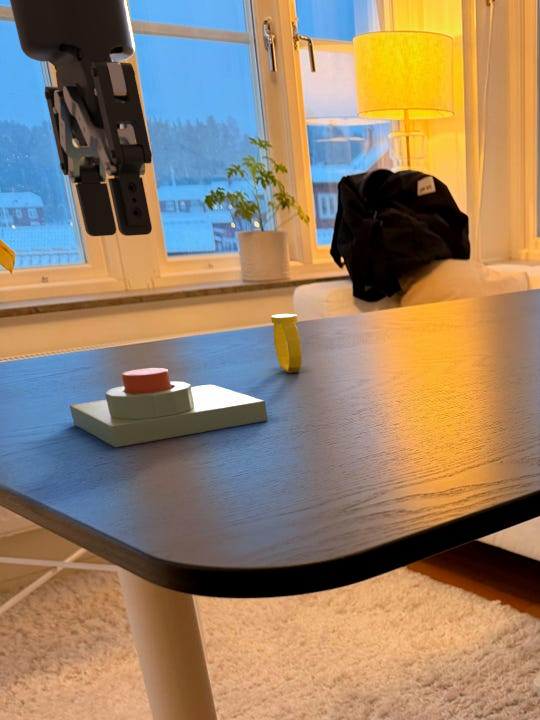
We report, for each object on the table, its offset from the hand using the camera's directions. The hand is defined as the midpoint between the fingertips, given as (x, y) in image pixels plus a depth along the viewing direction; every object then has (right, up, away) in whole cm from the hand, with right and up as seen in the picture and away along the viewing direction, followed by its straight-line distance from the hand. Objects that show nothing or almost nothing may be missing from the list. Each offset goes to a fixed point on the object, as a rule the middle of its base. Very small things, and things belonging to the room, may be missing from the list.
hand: (118, 235), depth 67 cm
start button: (0, -11, +5) cm, 12 cm away
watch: (+6, -1, +32) cm, 33 cm away
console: (+1, -12, +9) cm, 15 cm away
